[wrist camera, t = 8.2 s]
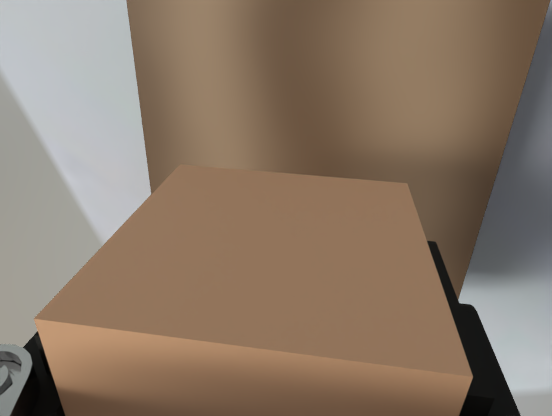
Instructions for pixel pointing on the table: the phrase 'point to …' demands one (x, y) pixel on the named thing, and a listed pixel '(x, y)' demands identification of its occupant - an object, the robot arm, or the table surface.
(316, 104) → the walnut base
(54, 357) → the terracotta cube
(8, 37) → the table surface
